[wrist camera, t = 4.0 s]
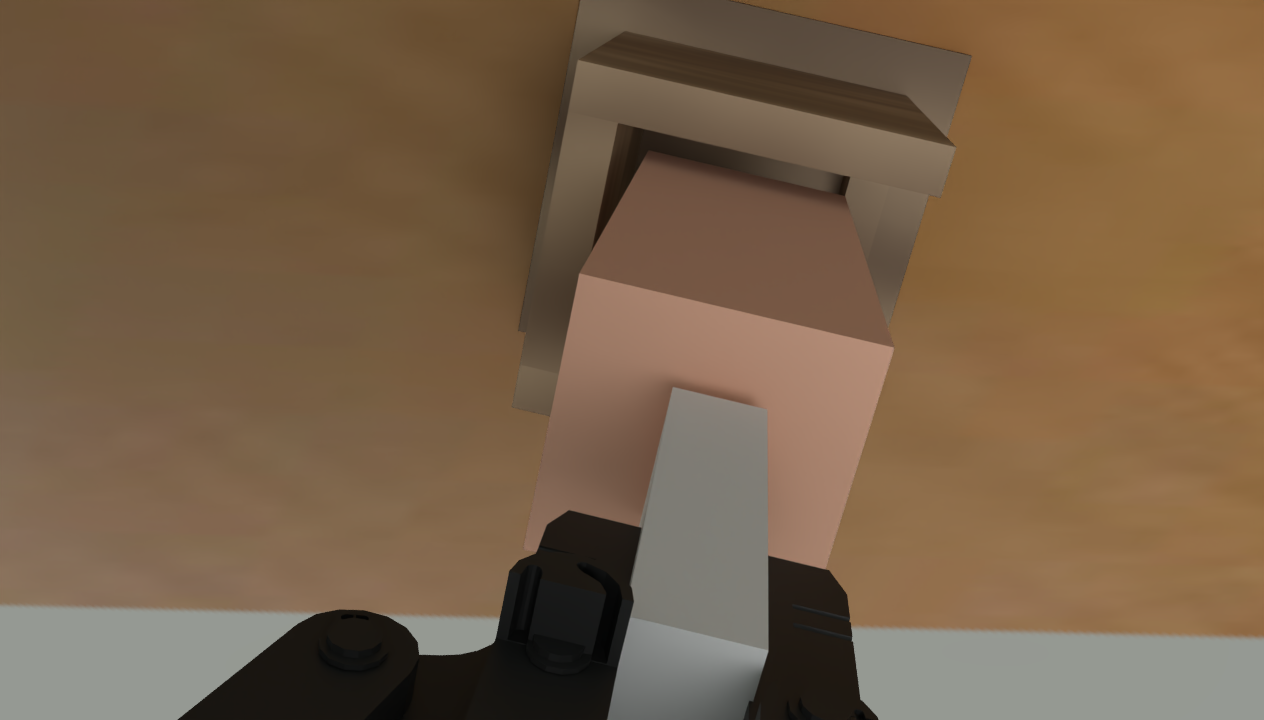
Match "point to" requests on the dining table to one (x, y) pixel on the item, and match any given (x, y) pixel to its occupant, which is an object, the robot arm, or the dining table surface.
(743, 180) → the block
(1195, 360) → the dining table surface
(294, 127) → the dining table surface
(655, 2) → the holder
